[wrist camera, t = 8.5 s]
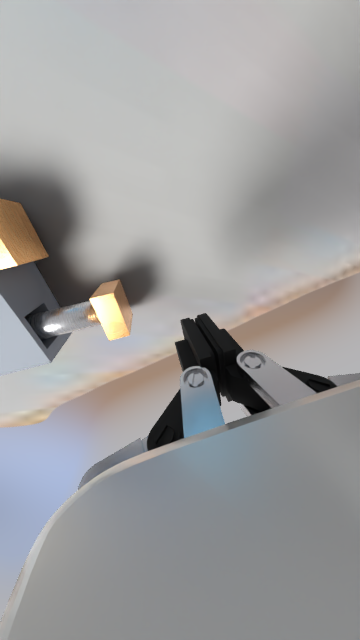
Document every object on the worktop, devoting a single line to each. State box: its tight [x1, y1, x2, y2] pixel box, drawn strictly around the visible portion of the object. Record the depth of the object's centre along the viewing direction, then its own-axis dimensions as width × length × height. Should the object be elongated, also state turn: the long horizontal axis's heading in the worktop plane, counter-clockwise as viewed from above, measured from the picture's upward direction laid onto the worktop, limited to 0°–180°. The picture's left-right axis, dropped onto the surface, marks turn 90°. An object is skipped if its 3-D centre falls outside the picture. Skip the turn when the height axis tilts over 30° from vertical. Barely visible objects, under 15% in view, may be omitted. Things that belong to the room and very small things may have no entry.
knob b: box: [24, 279, 133, 341], centre depth 17 cm, size 12×4×5 cm, turn 101°
